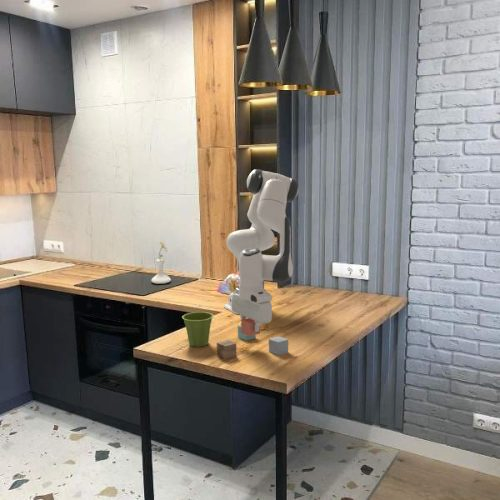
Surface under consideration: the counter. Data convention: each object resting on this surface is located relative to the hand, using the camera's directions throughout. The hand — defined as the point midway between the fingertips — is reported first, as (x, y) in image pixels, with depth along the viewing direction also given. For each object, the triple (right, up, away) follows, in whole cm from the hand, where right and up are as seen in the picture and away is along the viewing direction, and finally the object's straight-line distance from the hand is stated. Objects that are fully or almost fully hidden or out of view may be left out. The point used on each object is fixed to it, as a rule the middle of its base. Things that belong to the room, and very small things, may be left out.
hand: (250, 328), depth 190 cm
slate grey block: (+10, -8, -3) cm, 13 cm away
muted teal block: (-2, -6, +13) cm, 14 cm away
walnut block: (-9, -9, -6) cm, 14 cm away
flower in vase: (-53, +10, +112) cm, 124 cm away
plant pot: (-20, -7, +6) cm, 22 cm away
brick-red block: (0, -2, 0) cm, 2 cm away
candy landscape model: (-8, +7, +94) cm, 95 cm away
